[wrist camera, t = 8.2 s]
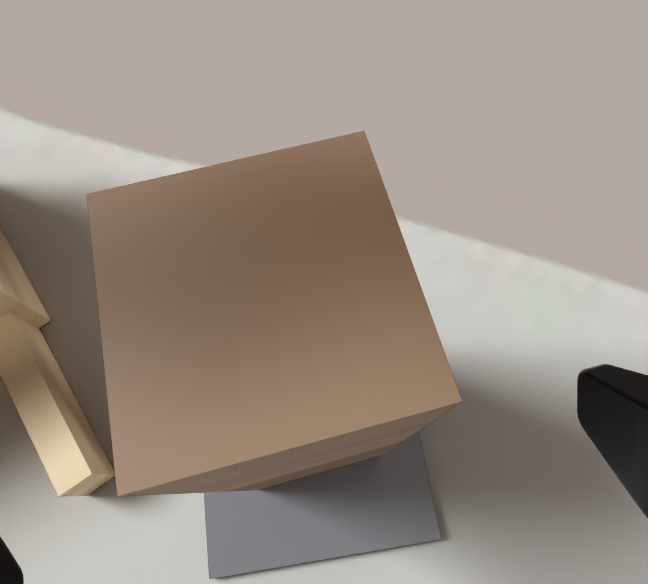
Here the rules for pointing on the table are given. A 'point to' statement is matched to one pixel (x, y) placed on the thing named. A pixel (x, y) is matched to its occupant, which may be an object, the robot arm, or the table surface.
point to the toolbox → (44, 388)
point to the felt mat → (323, 514)
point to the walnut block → (260, 322)
